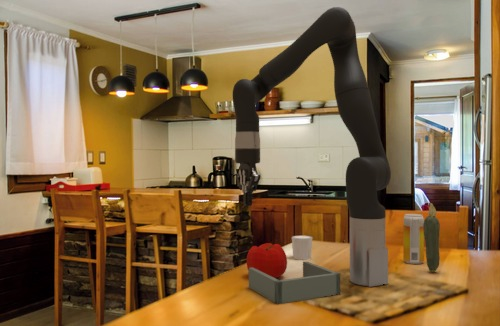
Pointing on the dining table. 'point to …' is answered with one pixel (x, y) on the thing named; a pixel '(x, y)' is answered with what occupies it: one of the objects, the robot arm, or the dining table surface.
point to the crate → (296, 284)
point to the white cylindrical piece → (302, 247)
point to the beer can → (413, 238)
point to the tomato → (267, 259)
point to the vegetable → (432, 239)
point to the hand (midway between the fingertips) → (247, 205)
